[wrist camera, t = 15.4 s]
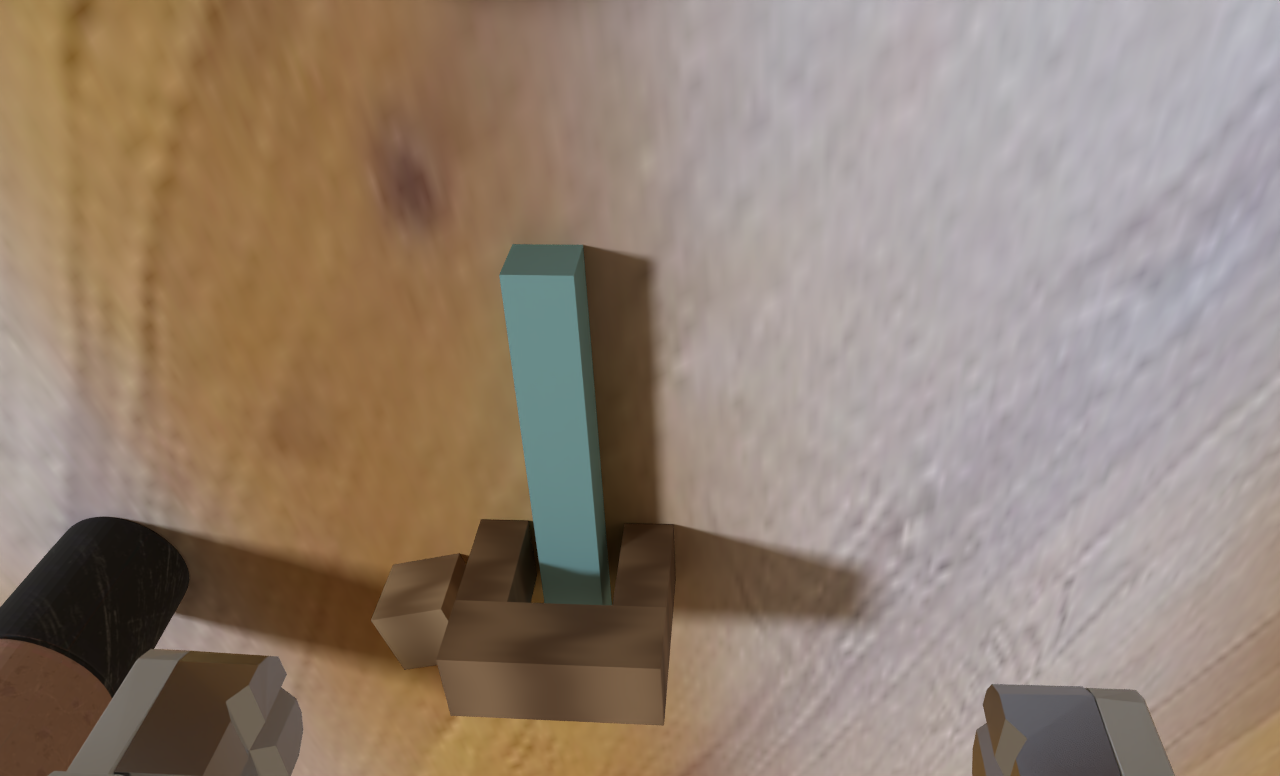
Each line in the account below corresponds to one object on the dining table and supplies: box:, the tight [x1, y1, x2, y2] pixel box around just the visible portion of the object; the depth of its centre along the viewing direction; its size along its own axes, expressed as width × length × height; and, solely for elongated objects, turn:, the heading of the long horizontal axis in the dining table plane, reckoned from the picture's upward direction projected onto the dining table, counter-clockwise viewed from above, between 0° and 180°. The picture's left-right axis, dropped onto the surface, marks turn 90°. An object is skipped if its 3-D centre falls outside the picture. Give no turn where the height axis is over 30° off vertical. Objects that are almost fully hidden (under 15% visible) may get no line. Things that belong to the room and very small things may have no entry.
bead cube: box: [371, 554, 466, 670], centre depth 52 cm, size 4×4×4 cm
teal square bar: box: [499, 244, 612, 605], centre depth 46 cm, size 3×22×3 cm, turn 2°
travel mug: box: [0, 517, 189, 776], centre depth 47 cm, size 8×8×20 cm
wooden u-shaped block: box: [436, 520, 676, 725], centre depth 48 cm, size 10×4×9 cm, turn 93°
